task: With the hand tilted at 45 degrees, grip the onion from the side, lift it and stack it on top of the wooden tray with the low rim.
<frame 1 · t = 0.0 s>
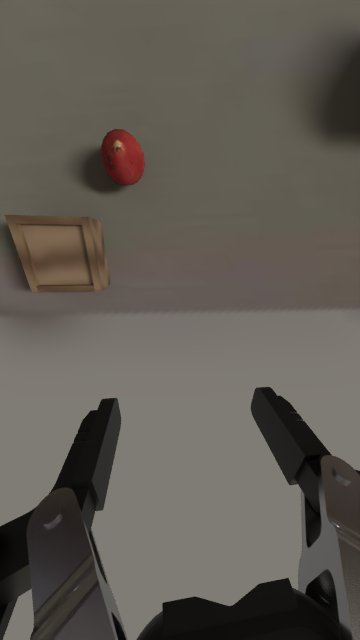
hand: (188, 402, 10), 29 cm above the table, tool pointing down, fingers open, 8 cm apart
onion: (127, 169, 28), on the table
wooden tray: (75, 254, 32), on the table
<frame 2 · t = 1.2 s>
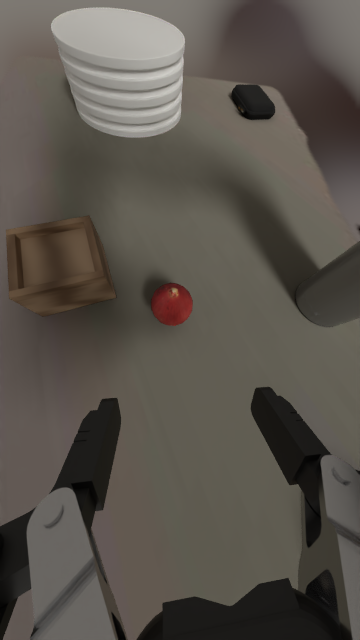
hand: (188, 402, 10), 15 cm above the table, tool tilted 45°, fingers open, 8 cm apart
plate stack: (130, 110, 48), on the table
onion: (171, 314, 28), on the table
wooden tray: (75, 277, 29), on the table
carrying case or bag: (248, 110, 54), on the table
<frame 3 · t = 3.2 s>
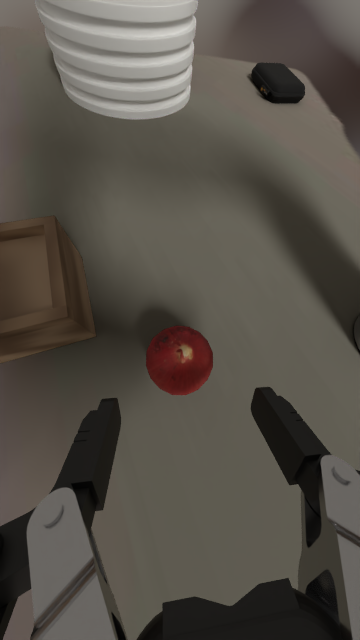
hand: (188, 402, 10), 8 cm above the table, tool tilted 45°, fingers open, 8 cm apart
plate stack: (129, 88, 40), on the table
onion: (176, 363, 19), on the table
wooden tray: (38, 305, 20), on the table
carrying case or bag: (271, 93, 45), on the table
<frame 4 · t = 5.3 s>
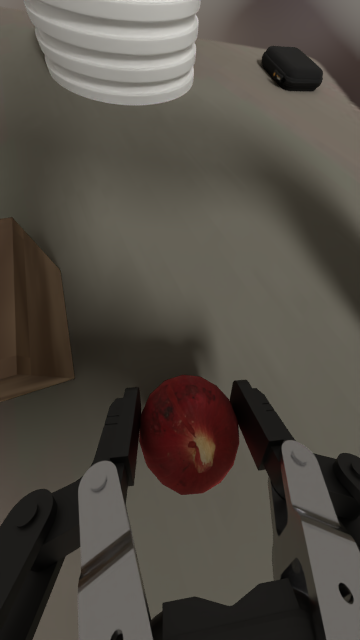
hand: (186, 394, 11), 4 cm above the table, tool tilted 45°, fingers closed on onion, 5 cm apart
plate stack: (124, 72, 35), on the table
onion: (181, 414, 14), on the table, touching gripper
carrying case or bag: (283, 81, 41), on the table
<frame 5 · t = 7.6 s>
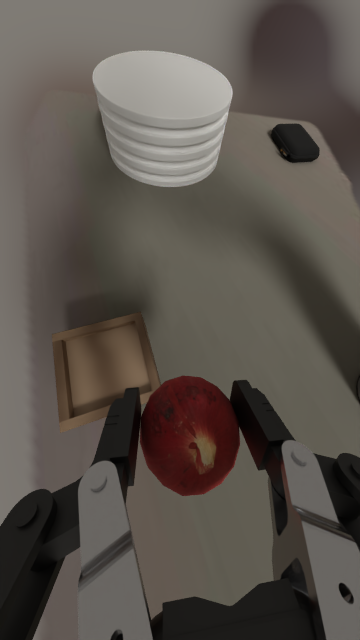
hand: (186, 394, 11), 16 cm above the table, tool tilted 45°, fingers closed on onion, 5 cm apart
plate stack: (165, 152, 46), on the table
onion: (182, 415, 14), point 12 cm above the table, touching gripper
wooden tray: (118, 368, 26), on the table
carrying case or bag: (288, 150, 51), on the table
when the fingers open (11 cm above the table, at t = 10.1 s): onion drops 1 cm, resting on wooden tray.
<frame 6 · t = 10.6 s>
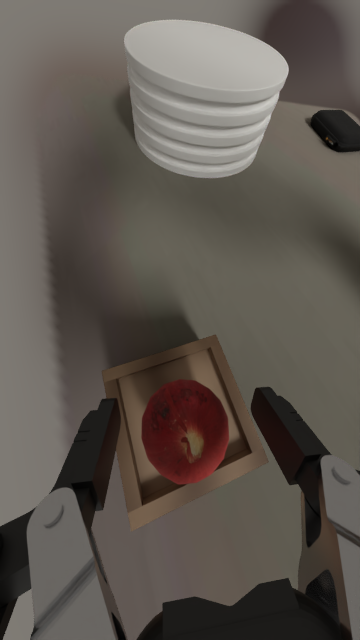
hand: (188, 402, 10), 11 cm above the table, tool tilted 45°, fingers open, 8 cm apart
plate stack: (196, 140, 40), on the table
onion: (180, 415, 15), point 5 cm above the table, touching wooden tray
wooden tray: (176, 406, 20), on the table
carrying case or bag: (330, 139, 46), on the table
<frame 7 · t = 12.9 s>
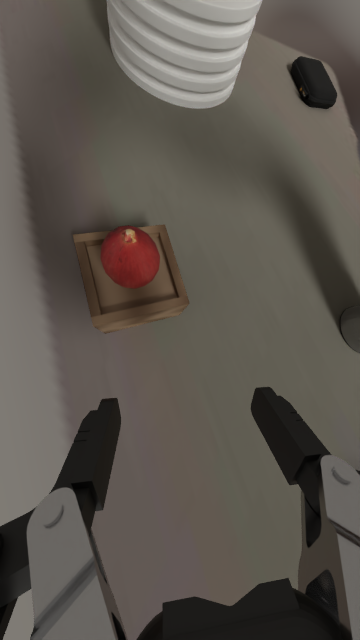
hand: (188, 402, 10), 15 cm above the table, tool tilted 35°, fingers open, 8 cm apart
plate stack: (176, 63, 39), on the table
onion: (133, 276, 22), point 5 cm above the table, touching wooden tray
wooden tray: (135, 289, 26), on the table
carrying case or bag: (306, 92, 48), on the table
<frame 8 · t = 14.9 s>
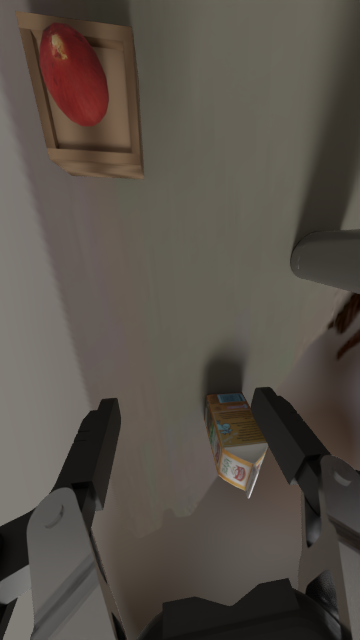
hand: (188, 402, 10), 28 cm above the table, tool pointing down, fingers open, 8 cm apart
milk carton: (222, 405, 53), on the table
onion: (90, 109, 21), point 5 cm above the table, touching wooden tray
wooden tray: (102, 129, 25), on the table
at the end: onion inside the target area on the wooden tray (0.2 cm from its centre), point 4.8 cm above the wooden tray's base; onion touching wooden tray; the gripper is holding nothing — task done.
